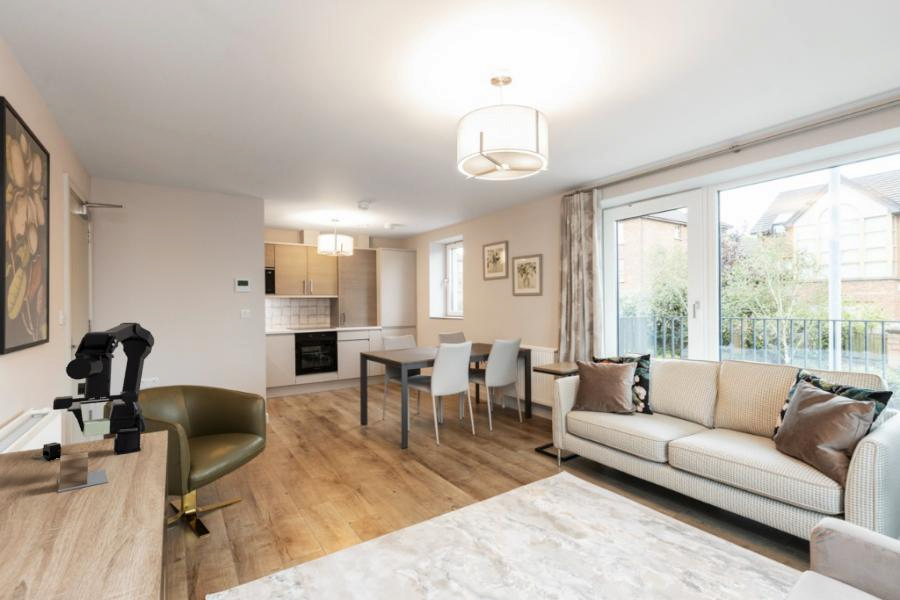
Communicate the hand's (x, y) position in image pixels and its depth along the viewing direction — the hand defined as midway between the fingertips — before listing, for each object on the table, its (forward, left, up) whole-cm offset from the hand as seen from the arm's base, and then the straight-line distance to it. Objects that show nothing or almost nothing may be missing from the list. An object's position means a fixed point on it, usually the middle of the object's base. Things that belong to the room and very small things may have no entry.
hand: (95, 429), depth 123 cm
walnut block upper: (+5, +8, -8) cm, 12 cm away
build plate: (+9, -27, -13) cm, 31 cm away
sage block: (0, 0, -1) cm, 1 cm away
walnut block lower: (+5, +8, -12) cm, 15 cm away
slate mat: (+3, +6, -12) cm, 14 cm away
